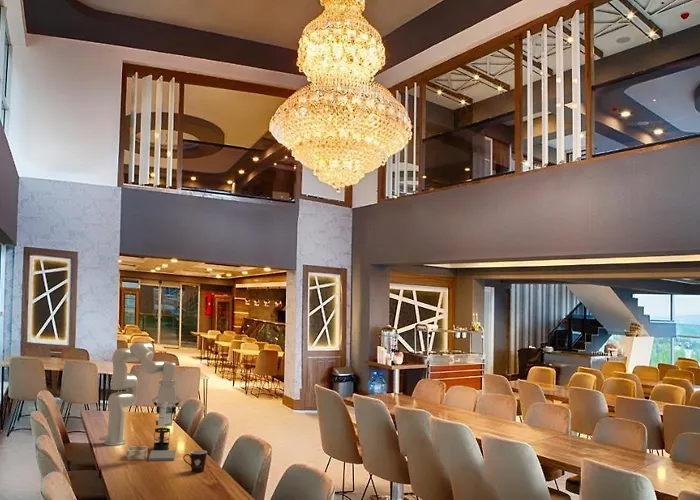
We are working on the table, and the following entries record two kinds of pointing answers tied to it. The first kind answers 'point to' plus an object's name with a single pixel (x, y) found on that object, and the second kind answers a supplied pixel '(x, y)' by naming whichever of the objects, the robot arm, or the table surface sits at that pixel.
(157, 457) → the slate board
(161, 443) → the french press
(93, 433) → the table surface
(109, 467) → the table surface
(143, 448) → the frame
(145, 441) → the table surface
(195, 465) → the coffee mug
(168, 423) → the syrup box
